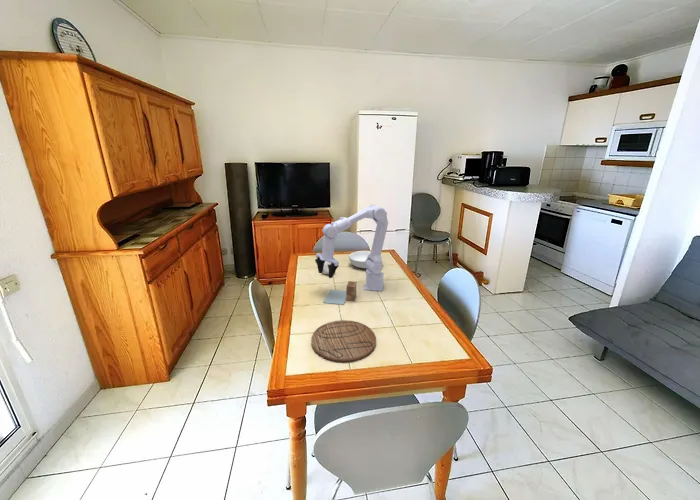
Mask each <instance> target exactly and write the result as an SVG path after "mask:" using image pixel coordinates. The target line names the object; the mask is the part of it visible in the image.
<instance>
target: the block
mask: <svg viewBox="0 0 700 500" xmlns="http://www.w3.org/2000/svg"><path fill="white" fill-rule="evenodd" d="M357 283H358V282H357V281H348V282H347V285H346V289H345V291H346V301H345V302H350V303H354V302H355V301H356V298H357Z"/></svg>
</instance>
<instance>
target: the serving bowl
mask: <svg viewBox="0 0 700 500" xmlns="http://www.w3.org/2000/svg"><path fill="white" fill-rule="evenodd" d="M370 253H371V250H359V251H358V250H357V251H353V252H351V253H350V254H349V255H348V259H349V262H350V263H351V264H352V266H354V267H355V268H361V269H367V268H366V267H365V264H364V263H365V261H366V259H367V257H368V255H369V254H370ZM382 258H383V255H382V254H381V259H382Z"/></svg>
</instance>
